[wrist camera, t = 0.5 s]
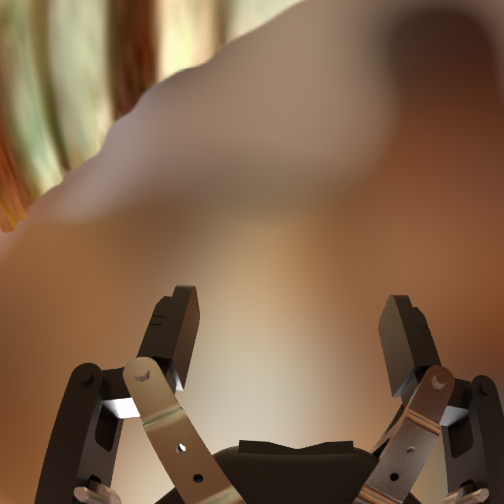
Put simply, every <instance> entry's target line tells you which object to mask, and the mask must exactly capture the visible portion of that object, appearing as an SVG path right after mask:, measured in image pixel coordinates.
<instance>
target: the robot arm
mask: <svg viewBox="0 0 504 504" xmlns="http://www.w3.org/2000/svg"><path fill="white" fill-rule="evenodd" d="M199 320H200V311H199V305H198V298H197V292H196V287H195V286H190V285H177V286H176V287H175V290H174V293H173V296H172V297H167V296H164V297H163V298H162V299H161V300H160V301H159V302H158V303H157V304H156V306H155V309H154V311H153V314H152V317H151V319H150V322H149V325H148V327H147V330H146V333H145V336H144V338H143V341H142V344H141V346H140V349H139V352H138V355H137V357H136V358H135V359H133V360H131V361H130V362H129V363H127V365H126V366H125V367H122V368H118V369H110V370H101V369H100V368H99V367H98V366H97V365H95V364H93V363H84V364H81V365H79V366H78V367H76V368H75V369H74V370H73V372H72V374H71V376H70V379H69V382H68V385H67V387H66V390H65V393H64V396H63V399H62V402H61V405H60V408H59V411H58V414H57V417H56V421H55V424H54V427H53V431H52V434H51V437H50V441H49V444H48V448H47V451H46V455H45V459H44V463H43V467H42V471H41V475H40V480H39V484H38V488H37V493H36V498H35V503H34V504H121V500H120V497H119V496H118V494H117V493H116V492H115V491H114V490H112V489H110V485H111V480H112V474H113V469H114V464H115V458H116V454H117V449H118V444H119V439H120V435H121V430H122V426H123V421H124V418H126V417H136V416H140V417H141V419H142V422H143V427H144V429H145V431H146V434H147V436H148V438H149V440H150V442H151V444H152V446H153V448H154V450H155V451H156V453H157V455H158V457H159V459H160V461H161V463H162V465H163V466H164V468H165V470H166V472H167V473H168V475H169V477H170V479H171V480H172V482H173V484H174V486H175V487H174V488H173V489H172V490H171V491H170V492H168V493H167V494H166V495H165V496H163V497H162V498H161V499H160V500H159V501H157V502H156V503H155V504H422V503H421V502H420V501H418V499H416V498H415V496H414V495H413V494H411V492H410V490H411V488H412V486H413V485H414V483H415V481H416V479H417V478H418V476H419V474H420V472H421V470H422V469H423V466H424V465H425V463H426V461H427V459H428V457H429V455H430V453H431V451H432V449H433V447H434V444H435V443H436V440H437V438H438V436H439V433H440V428H439V427H438V426H439V425H441V428H442V436H443V444H444V452H445V461H446V471H447V482H448V495H447V496H445V498H444V499H443V501H442V504H504V415H503V411H502V407H501V403H500V399H499V395H498V392H497V388H496V386H495V383H494V382H493V381H492V380H491V379H490V378H489V377H487V376H484V375H479V376H477V377H475V378H474V379H473V381H472V382H470V381H465V380H461V379H456V378H454V377H453V375H452V373H451V372H450V371H449V370H448V369H447V368H445V367H443V366H442V365H441V362H440V359H439V356H438V353H437V350H436V347H435V344H434V341H433V338H432V336H431V332H430V330H429V328H428V324H427V321H426V319H425V316H424V315H423V314H422V312H421V311H420V310H419V309H418V308H417V307H412V304H411V302H410V299H409V297H408V296H407V295H390V296H389V298H388V300H387V302H386V305H385V308H384V310H383V313H382V315H381V317H380V320H379V335H380V339H381V344H382V348H383V353H384V357H385V362H386V367H387V372H388V377H389V382H390V387H391V392H392V397H398V396H401V398H402V403H401V404H400V406H399V407H398V409H397V411H396V413H395V415H394V416H393V418H392V420H391V421H390V423H389V425H388V426H387V428H386V430H385V431H384V433H383V434H382V436H381V437H380V439H379V440H378V442H377V443H376V444H375V445H374V447H373V448H372V449H371V451H370V452H367V451H365V450H362V449H359V448H356V447H353V441H342V442H341V441H340V442H325V443H321V444H318V445H313V446H309V447H305V448H301V449H294V448H290V447H286V446H282V445H278V444H274V443H271V442H262V441H261V442H260V441H245V440H239V446H234V447H230V448H227V449H224V450H221V451H219V452H217V453H215V454H213V455H211V453H210V452H209V450H208V449H207V447H206V446H205V444H204V443H203V441H202V439H201V438H200V436H199V435H198V433H197V431H196V430H195V428H194V426H193V425H192V423H191V421H190V420H189V418H188V416H187V415H186V413H185V411H184V410H183V408H182V407H181V406H180V404H179V403H178V401H177V399H176V398H175V396H174V395H175V391H176V390H181V391H183V390H184V386H185V382H186V378H187V373H188V369H189V365H190V360H191V356H192V352H193V348H194V343H195V339H196V335H197V331H198V326H199Z"/></svg>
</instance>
